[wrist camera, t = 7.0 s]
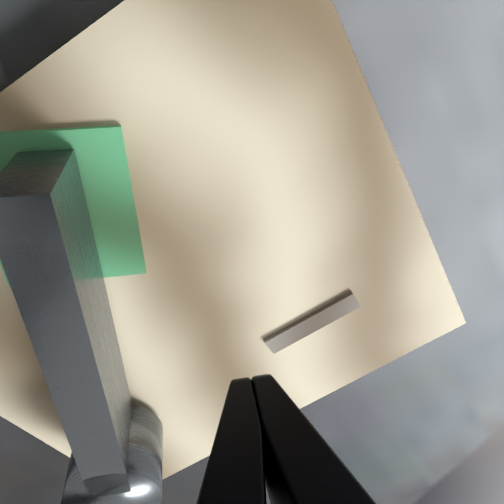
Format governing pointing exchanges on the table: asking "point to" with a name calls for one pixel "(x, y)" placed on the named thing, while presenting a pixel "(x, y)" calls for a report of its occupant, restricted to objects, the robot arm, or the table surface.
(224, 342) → the dial board
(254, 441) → the robot arm
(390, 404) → the table surface
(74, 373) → the grey long bar
